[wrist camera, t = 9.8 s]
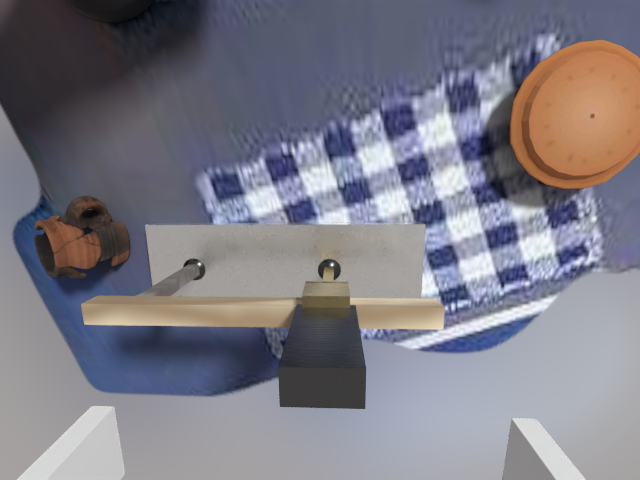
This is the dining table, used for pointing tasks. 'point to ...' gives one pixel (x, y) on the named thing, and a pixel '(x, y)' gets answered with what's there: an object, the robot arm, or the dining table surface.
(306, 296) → the block
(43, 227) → the broken clay pot
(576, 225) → the dining table surface
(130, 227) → the dining table surface
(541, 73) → the pie
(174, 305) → the bar
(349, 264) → the hole plate
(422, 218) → the dining table surface
